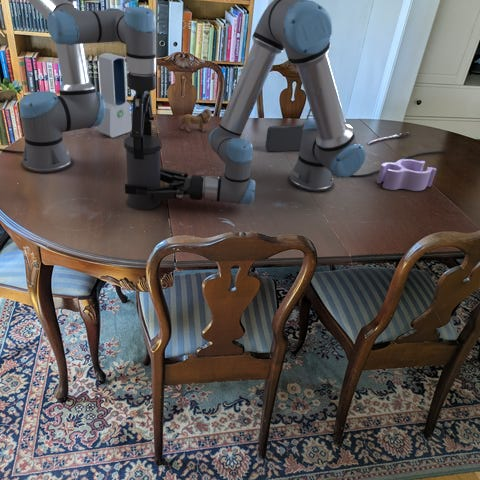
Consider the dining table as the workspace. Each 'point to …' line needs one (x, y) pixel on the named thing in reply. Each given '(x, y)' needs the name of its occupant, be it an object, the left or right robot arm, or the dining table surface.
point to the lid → (145, 144)
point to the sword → (386, 138)
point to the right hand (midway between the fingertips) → (129, 181)
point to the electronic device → (114, 96)
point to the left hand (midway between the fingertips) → (143, 150)
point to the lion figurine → (196, 119)
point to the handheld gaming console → (284, 137)
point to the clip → (406, 175)
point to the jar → (143, 178)
